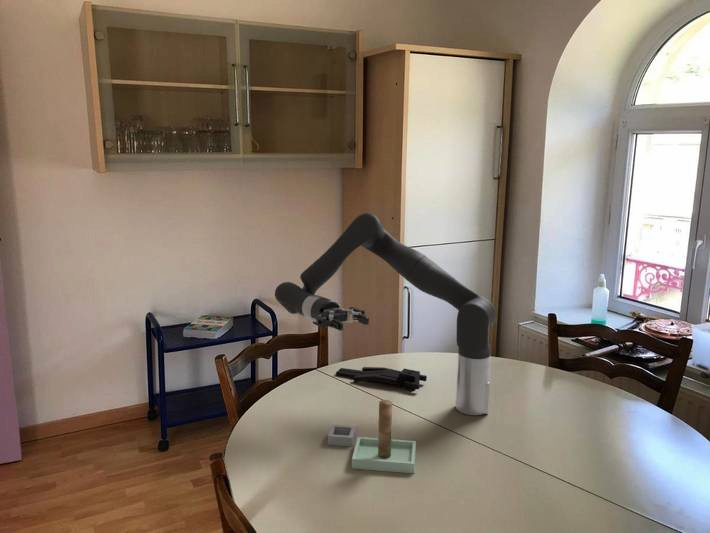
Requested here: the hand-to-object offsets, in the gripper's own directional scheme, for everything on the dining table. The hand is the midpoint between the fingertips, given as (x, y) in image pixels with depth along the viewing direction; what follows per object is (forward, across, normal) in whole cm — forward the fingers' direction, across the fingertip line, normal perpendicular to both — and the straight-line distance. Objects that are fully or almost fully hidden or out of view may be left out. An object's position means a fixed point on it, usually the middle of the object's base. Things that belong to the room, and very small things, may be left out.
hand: (355, 323), depth 157 cm
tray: (+17, -4, +30) cm, 35 cm away
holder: (+3, -6, +30) cm, 31 cm away
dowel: (+17, -4, +29) cm, 34 cm away
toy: (-21, +26, +31) cm, 46 cm away
